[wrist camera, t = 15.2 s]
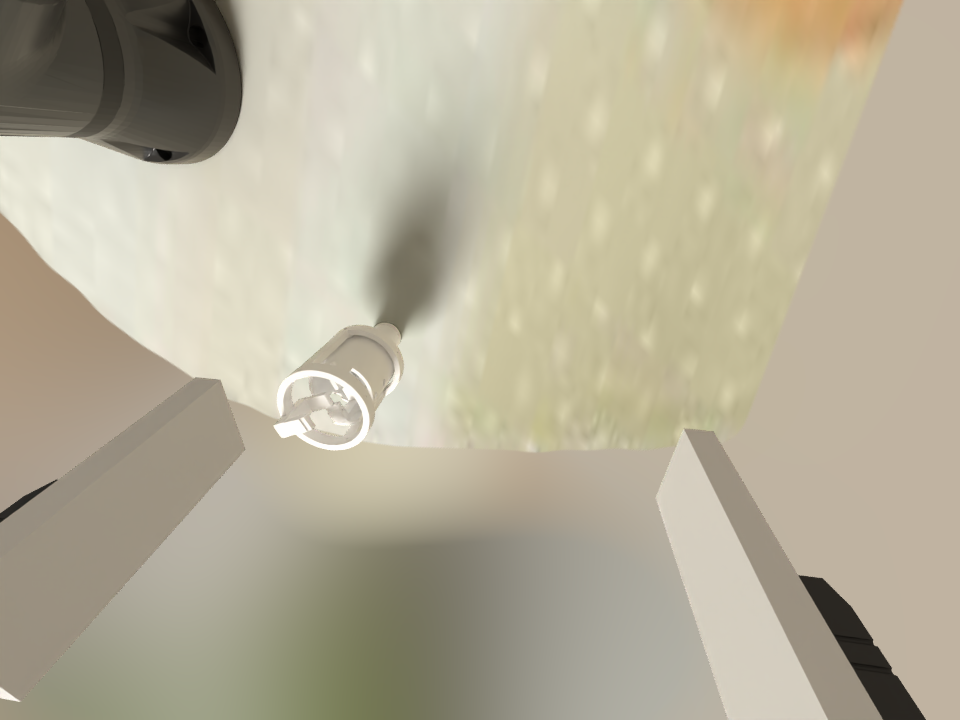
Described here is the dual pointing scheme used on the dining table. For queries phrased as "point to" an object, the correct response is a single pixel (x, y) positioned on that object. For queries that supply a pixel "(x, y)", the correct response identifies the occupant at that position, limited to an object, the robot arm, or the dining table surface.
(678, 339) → the dining table surface
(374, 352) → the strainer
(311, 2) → the dining table surface
